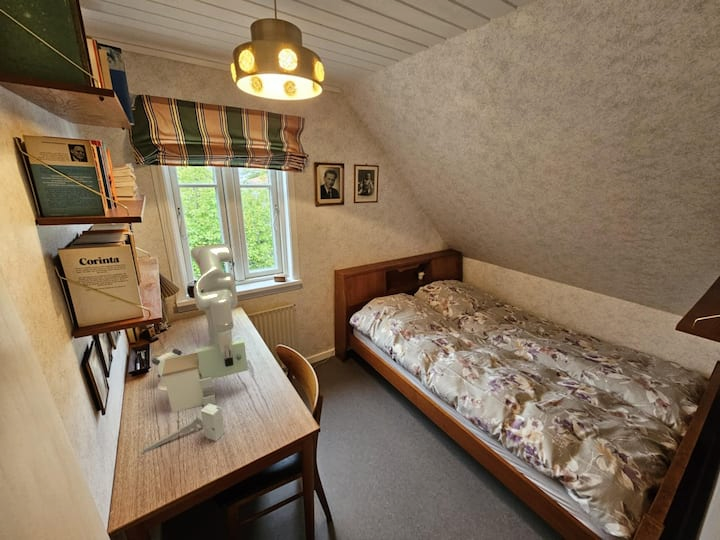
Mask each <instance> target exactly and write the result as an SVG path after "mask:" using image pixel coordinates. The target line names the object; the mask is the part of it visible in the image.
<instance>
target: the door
mask: <svg viewBox="0 0 720 540" xmlns="http://www.w3.org/2000/svg"><path fill="white" fill-rule="evenodd" d="M232 346H233V352H232V353H231V355H232V357H233V364H234V365H232V366H228V367H226V366H225V360H224V358H225V356H224V354H222V355H221V354H220V349H219V344H217V345H212V346H209V345H207V346H204V347H198V348H197V351H196V353H198V358H199V364H200V369H201V374H202V379H205V378H209V377H211V378H212V380H214V379H219V378H222V377H226V376H231V375H235V374H238V373H243V372H246V371H249V368H248V367H249V366H248V359H247V351H246V345H245V339H244V338H242V339H237V340H232ZM229 351H230V350H229ZM225 352H226V351H225ZM229 354H230V353H229Z"/></svg>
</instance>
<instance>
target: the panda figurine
mask: <svg viewBox="0 0 720 540" xmlns="http://www.w3.org/2000/svg"><path fill="white" fill-rule="evenodd" d="M179 356H182V351H181V350H180V349H177V348H173V349H172V351H169V352H166V353H164V354H161V355H160V356H158V357H157V358H156V357H155V358H152V359H151V363H152V364H153V370H154V372H155V374H157V377H158V378H159V379H160V381H158V383H157V389H158V390H159V391H162V392H167V389H166V384H165V380H164V377H163V376H162V372H163V368H164V364H165V360H166V359H170V358H175V357H179Z"/></svg>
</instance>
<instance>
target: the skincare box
mask: <svg viewBox="0 0 720 540" xmlns="http://www.w3.org/2000/svg"><path fill="white" fill-rule="evenodd" d="M222 410H223V409H222V407H221V406H218V405H216V404H213V405H212V404H210V403H209V404H208V405H207V406H205V407H204V406H203V408H202V409H201V410H200V414H201V420H202V423H203V429H202V430H203V433H204V434H203V435H204V437H205V438H207V439H209V440H211V441H215V442H217V441H218V440H219V439H220V438H221V437H222V436H223V435H224V434H225V429H224V428H225V427H224V420H223V412H222Z"/></svg>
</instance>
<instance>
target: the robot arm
mask: <svg viewBox="0 0 720 540" xmlns="http://www.w3.org/2000/svg"><path fill="white" fill-rule="evenodd" d="M190 255H191V258H192V259H193V261H194V262H195V264H196V265H197V266H198V269H199V273H200V274H199V275H200V276H199V277H198V278H197V280H196V281H195V283H194V285H193V286H194V287H193V294H194V301H195V307H196V308H197V309H198V311H202V312H205V316H206V317H205V318H206V321H207V327H208V332H209V338H210V344H209V345H208V346H212V345H217V344H219V349H220V354H221V355H222V354H224V356H225V358H224V360H225V366H226V367H228V366H232V365H234V364H233V357H232V355H231V353H232V352H233V346H232V341H233V335H232V330H233V329H234V320H233V311H232V309H234V308H236V307H238V305H239V301H238V300H239V299H238V292H237V287H236V285H237V284H236V280H235V276H234V275H233V273H230V272H223V268H222V263H227V262H228V263H229V262H231V261H233V257H234V256H233V250H232V249H231V247H230V245H229V244H227V243H217V244H206V245H200V246H195V247H193V248H191V250H190ZM202 291H204V292H202ZM229 350H230V351H229ZM225 351H226V352H225ZM229 353H230V354H229Z"/></svg>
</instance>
